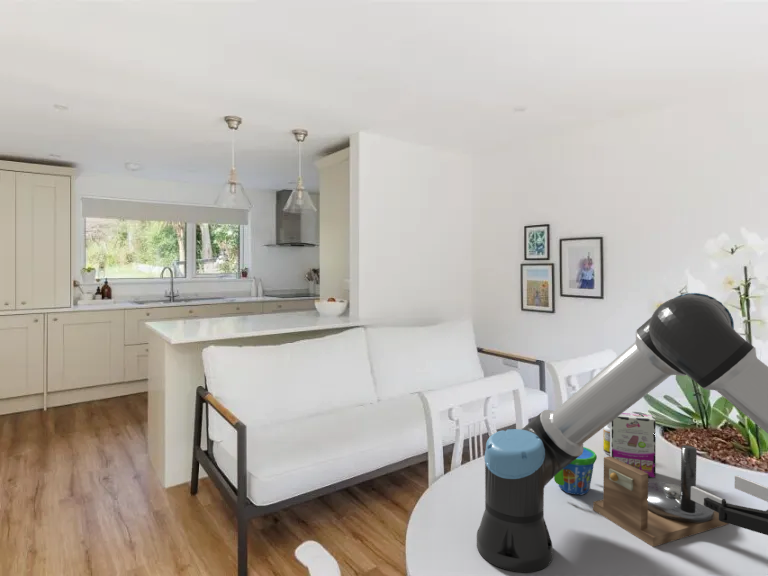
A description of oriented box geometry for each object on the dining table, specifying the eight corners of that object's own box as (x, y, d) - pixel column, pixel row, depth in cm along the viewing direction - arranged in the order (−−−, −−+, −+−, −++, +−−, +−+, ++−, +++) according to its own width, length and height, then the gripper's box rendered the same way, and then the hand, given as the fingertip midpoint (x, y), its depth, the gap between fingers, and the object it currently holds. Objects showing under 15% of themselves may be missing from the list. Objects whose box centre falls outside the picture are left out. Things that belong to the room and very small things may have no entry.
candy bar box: (652, 471, 132) (653, 414, 132) (655, 478, 127) (656, 420, 127) (609, 465, 136) (609, 410, 135) (611, 472, 131) (611, 415, 131)
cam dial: (629, 487, 117) (630, 425, 116) (693, 492, 115) (694, 428, 114) (654, 519, 102) (655, 448, 102) (728, 525, 100) (730, 452, 99)
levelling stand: (647, 548, 96) (648, 482, 95) (588, 511, 110) (588, 453, 110) (729, 523, 105) (730, 463, 104) (664, 492, 120) (665, 439, 119)
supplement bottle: (613, 449, 149) (613, 417, 148) (627, 455, 143) (627, 423, 143) (599, 451, 147) (599, 419, 146) (612, 457, 142) (613, 425, 141)
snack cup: (573, 474, 130) (574, 439, 130) (609, 489, 122) (609, 451, 121) (537, 489, 122) (538, 451, 121) (573, 506, 113) (574, 465, 113)
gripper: (797, 582, 73) (671, 515, 93) (883, 548, 82) (752, 494, 102) (798, 536, 73) (672, 479, 93) (885, 506, 82) (753, 460, 102)
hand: (714, 487), depth 97 cm, fingers open, 13 cm apart
